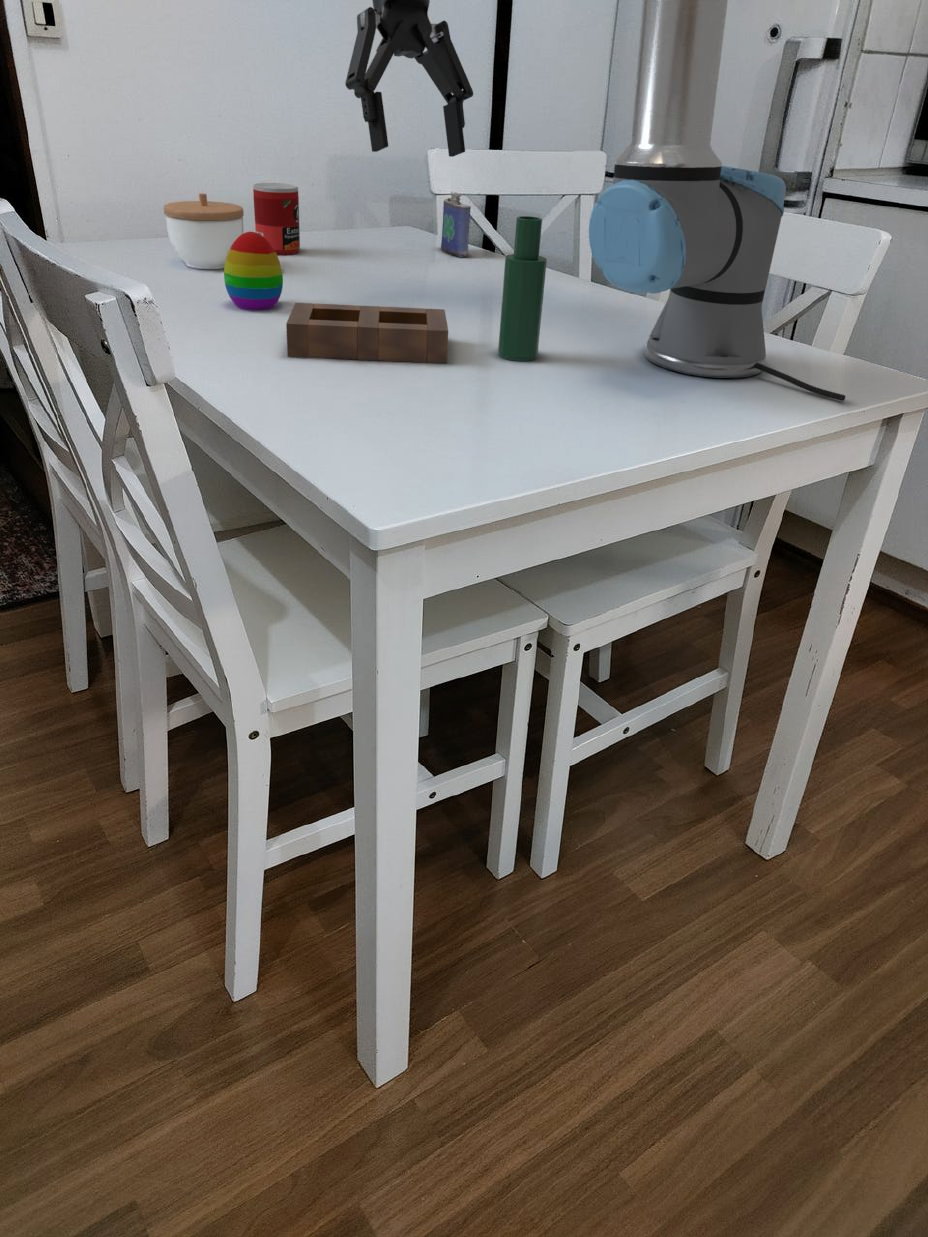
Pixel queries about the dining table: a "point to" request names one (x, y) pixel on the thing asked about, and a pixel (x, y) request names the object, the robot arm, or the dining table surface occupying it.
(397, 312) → the rack
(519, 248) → the bottle
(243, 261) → the decorative egg
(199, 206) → the lidded bowl
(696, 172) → the robot arm
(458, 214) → the flask
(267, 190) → the canned food
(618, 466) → the dining table surface
